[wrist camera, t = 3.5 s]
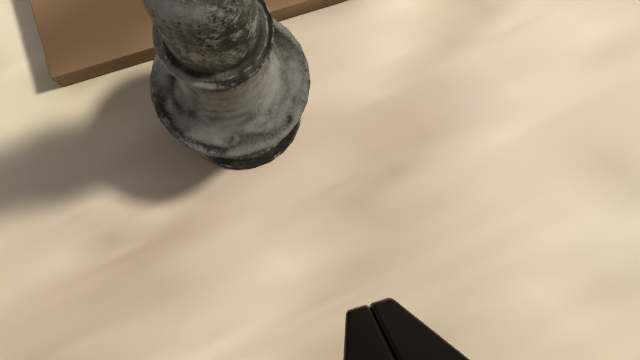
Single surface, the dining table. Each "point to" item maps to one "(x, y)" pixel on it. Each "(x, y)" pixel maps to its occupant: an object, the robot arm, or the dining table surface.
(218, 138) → the dark grey tall piece
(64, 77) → the walnut board
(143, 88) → the dining table surface
